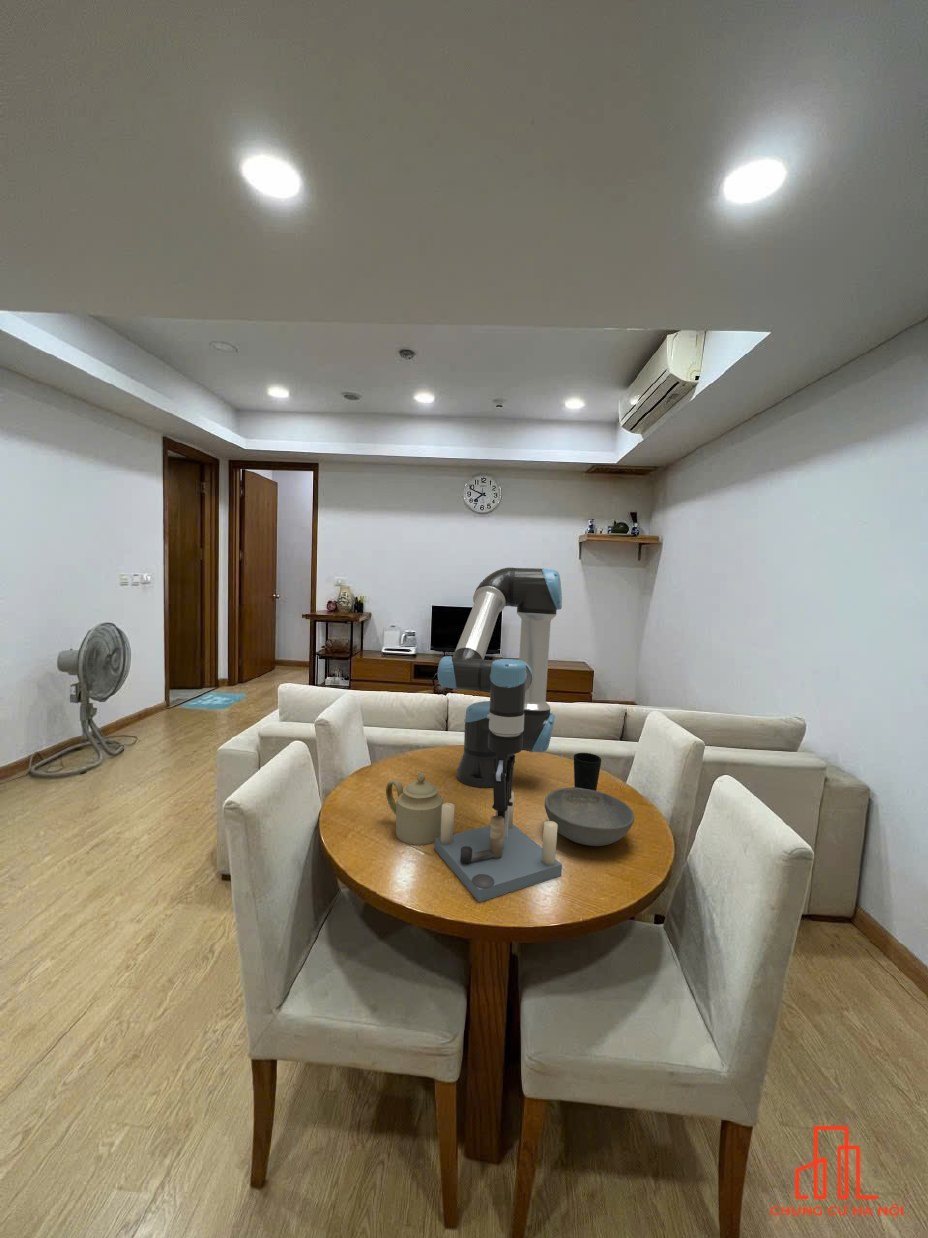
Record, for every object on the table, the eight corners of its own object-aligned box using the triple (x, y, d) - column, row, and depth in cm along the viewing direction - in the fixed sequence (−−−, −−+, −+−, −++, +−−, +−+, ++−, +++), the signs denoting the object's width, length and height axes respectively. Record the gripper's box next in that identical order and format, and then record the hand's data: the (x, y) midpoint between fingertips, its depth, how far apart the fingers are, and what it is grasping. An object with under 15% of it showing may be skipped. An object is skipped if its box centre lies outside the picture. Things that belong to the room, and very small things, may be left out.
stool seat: (433, 849, 111) (435, 803, 110) (508, 830, 120) (510, 788, 119) (478, 903, 93) (481, 849, 92) (561, 876, 103) (565, 827, 102)
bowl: (537, 813, 130) (539, 783, 129) (617, 817, 130) (619, 788, 129) (549, 859, 109) (551, 824, 108) (644, 864, 108) (647, 829, 108)
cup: (599, 806, 135) (602, 764, 134) (571, 802, 137) (573, 760, 136) (597, 794, 143) (600, 754, 142) (570, 791, 144) (573, 751, 143)
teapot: (373, 841, 113) (375, 778, 112) (386, 818, 124) (388, 760, 123) (437, 848, 112) (440, 784, 110) (445, 823, 122) (447, 765, 121)
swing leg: (463, 865, 100) (465, 828, 100) (458, 858, 103) (459, 822, 102) (504, 856, 104) (506, 820, 103) (498, 849, 107) (500, 814, 106)
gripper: (495, 721, 113) (491, 819, 116) (481, 738, 101) (477, 847, 103) (527, 725, 111) (523, 825, 113) (517, 743, 99) (512, 854, 101)
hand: (501, 835), depth 108 cm, fingers closed
